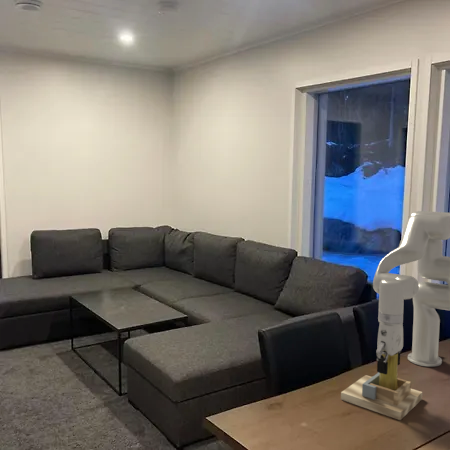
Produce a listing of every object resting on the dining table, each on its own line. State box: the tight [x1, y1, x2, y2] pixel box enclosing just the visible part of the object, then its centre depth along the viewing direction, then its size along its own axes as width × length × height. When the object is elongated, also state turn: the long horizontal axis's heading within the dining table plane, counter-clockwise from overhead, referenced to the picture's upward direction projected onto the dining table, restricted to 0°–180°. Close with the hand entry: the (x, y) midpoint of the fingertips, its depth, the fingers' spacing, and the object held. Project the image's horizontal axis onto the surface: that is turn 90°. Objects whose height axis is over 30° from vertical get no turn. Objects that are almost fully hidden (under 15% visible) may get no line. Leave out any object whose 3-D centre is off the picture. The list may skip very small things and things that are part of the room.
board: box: [340, 374, 423, 421], centre depth 160 cm, size 18×20×6 cm
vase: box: [379, 351, 399, 391], centre depth 158 cm, size 6×6×14 cm
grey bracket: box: [362, 372, 380, 400], centre depth 161 cm, size 14×4×4 cm, turn 138°
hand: (388, 368), depth 158 cm, fingers open, 9 cm apart
